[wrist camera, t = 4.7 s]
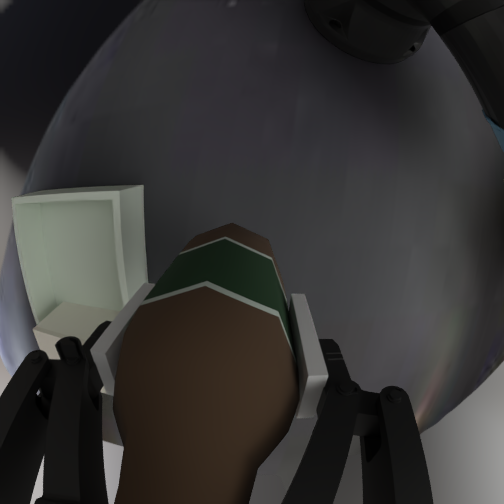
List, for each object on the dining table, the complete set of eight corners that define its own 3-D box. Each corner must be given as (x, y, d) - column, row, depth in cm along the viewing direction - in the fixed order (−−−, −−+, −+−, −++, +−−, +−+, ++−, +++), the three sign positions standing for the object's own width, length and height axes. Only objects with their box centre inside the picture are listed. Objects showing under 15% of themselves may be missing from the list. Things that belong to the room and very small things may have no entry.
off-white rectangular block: (131, 312, 32) (105, 349, 25) (141, 359, 35) (122, 397, 27) (63, 301, 32) (32, 329, 25) (76, 345, 35) (51, 375, 27)
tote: (143, 184, 28) (119, 190, 23) (160, 367, 36) (149, 395, 31) (40, 190, 28) (11, 197, 22) (71, 348, 36) (54, 369, 31)
